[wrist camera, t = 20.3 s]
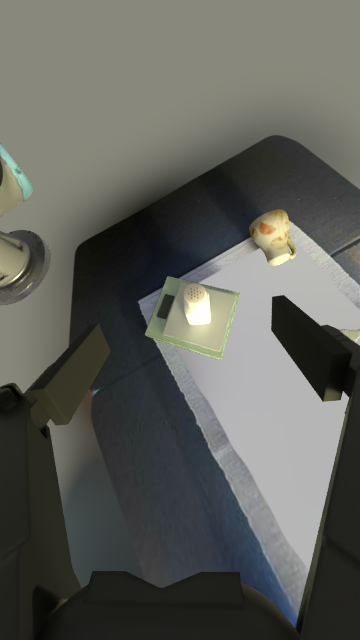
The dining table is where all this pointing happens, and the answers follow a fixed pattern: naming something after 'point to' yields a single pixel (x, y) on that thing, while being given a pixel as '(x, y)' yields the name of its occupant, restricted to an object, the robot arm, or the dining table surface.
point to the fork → (352, 334)
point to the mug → (273, 236)
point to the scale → (176, 328)
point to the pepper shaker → (196, 304)
